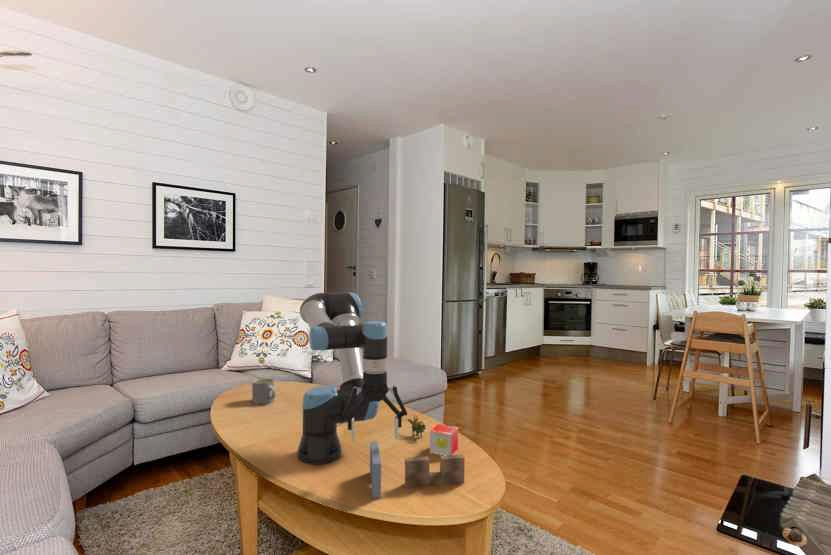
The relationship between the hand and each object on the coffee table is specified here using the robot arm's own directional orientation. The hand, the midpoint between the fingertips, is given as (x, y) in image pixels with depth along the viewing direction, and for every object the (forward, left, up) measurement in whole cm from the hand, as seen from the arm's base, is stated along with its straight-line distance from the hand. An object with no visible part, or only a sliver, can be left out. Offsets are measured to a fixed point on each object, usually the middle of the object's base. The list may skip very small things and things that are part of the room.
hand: (374, 438), depth 137 cm
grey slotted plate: (0, -5, -12) cm, 13 cm away
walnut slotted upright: (+18, -7, -12) cm, 23 cm away
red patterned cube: (+26, +16, -13) cm, 33 cm away
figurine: (+18, +31, -12) cm, 38 cm away
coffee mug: (-48, +81, -12) cm, 95 cm away
